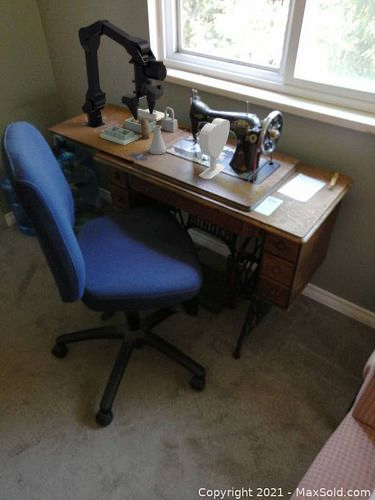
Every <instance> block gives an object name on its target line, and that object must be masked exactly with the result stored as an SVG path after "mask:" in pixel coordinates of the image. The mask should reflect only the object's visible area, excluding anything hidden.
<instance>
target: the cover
mask: <svg viewBox="0 0 375 500" xmlns="http://www.w3.org/2000/svg"><path fill="white" fill-rule="evenodd" d="M169 115H170V114H169V113H167V117H169ZM138 116H139V117H143V118H146V119H150V120H154V121H156V122H158V121H161V118H163V117H164V112H162V111H158V110H155V109H154V110H153V114H152V115H151V114H150V112H149V108H147V109H142V108H138Z"/></svg>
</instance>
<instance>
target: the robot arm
mask: <svg viewBox="0 0 375 500" xmlns="http://www.w3.org/2000/svg"><path fill="white" fill-rule="evenodd" d="M77 32H78V33H77V34H78V35H77V36H78V40H79V44H80V46H81V48H82V50H83V51H84V56H85V57H84V58H85V66H86V79H87V90H86V93H85V97H84V98H85V102H84V104H83V105H82V107H81V110H82V112H83V113H84V114H86V117H87V122H86V123H85V125H86V126H88V127H92V128H94V129H95V128H98V127H101V126H104V125H106V123H105V122H104V121H103V116H102V111H103V110H104V109H105V105H106V102H107V99H106V92H105V91H103V90H102V89H101V85H100V83H101V82H100V70H99V58H98V51H99V48H100V45H101V37H102V36H106V37H107V38H109V39H110V40H112V41H113V42H116V44H118V45H119V46H122V47H123V48H124V49H125V51H126V53H127V54H128V55H129V56H130V57H131V58H130V59H129V60H128V64H131V65H132V68H133V79H132V80H131V81H132V82H131V83H132V84H134V90H132V93H133V94H130V93H128V94H125V95H124V94H123V95H122V97H121V104H123V105H125V106H126V107H127V108H128V109H129V111H130V113H131V115H132V117H134V119H135V120H138V109H139V107H140V100H142V99H144V98H146V102H147V103H146V104H147V109H149V112H150V114H151V115H152V114H153V110H155V106H156V103H157V101H158V100H160V99H161V97H162V96H163V95H164V86H163V85H162V84H157V85H153V81H152V80H154V81H159V82H163V81H165V79H166V78H167V75H168V70H167V66H166V65H165V64H164V61H163V60H157V57H156V56H155V54H154V52H153V50H152V48H151V47H150V43H149V42H148V41H147V40H146V39H144V38H141V37H137V36H133V35H130V34H129V33H127V32H126V31H124V30H123V29H121V28H119V27H117V26H116V25H114V24H113V23H112V22H110V21H109V20H108V19H98V20H96V21H95V22H94V23H91V24H90V25H86V26H81V27H80V28H79V29H78V31H77Z"/></svg>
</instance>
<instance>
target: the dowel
mask: <svg viewBox="0 0 375 500" xmlns="http://www.w3.org/2000/svg"><path fill="white" fill-rule="evenodd" d="M140 134H141V139H142V140H144V141H147V140H149V139H150V132H149V126H148V118H144V117H143V119H141V133H140Z"/></svg>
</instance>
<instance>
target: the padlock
mask: <svg viewBox="0 0 375 500" xmlns="http://www.w3.org/2000/svg"><path fill="white" fill-rule="evenodd" d="M163 111H164V112H163V113H164V117H163V118H161V120H160V121H161V122H160V123H161V130H164V131H167V132H169V133H170V132H171V133H175V132H177V131H178V119H176V118H175V112H174V109H173V107H172V108H171V107H169V106H166V107H165V108H164V110H163ZM168 111H170V113H171V117H169V116H168V117H167V114H168Z"/></svg>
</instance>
